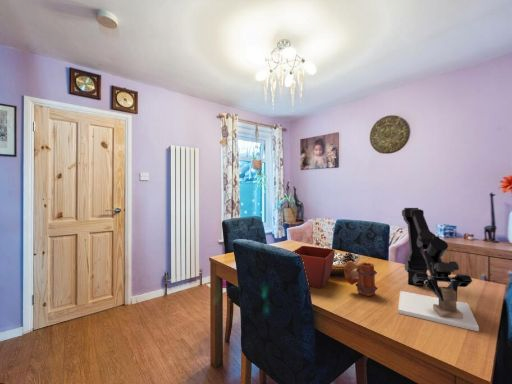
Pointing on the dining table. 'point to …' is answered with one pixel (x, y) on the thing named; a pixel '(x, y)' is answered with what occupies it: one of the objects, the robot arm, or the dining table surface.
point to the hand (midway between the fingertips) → (449, 301)
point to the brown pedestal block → (448, 304)
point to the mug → (362, 277)
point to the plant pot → (317, 264)
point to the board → (424, 309)
